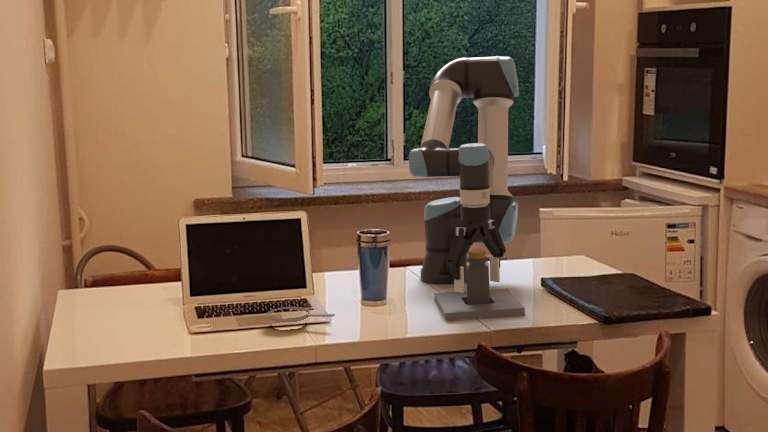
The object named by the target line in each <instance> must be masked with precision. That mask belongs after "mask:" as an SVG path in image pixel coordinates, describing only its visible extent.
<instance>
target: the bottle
mask: <svg viewBox="0 0 768 432" xmlns="http://www.w3.org/2000/svg"><path fill="white" fill-rule="evenodd" d="M485 255H486V257H485ZM467 257H468V258H467V262H469V263H470V265H469V266H468V267H467V268H466V281H465V282H466V291H467V305H474V304H490V290H491V289H490V267H489V268H488V266H486V265H485V262H487V261H488V258H487V250H486V249H481V248H480V249H479V248H476V249H475V248H474V249H469V251H468V253H467Z"/></svg>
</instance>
